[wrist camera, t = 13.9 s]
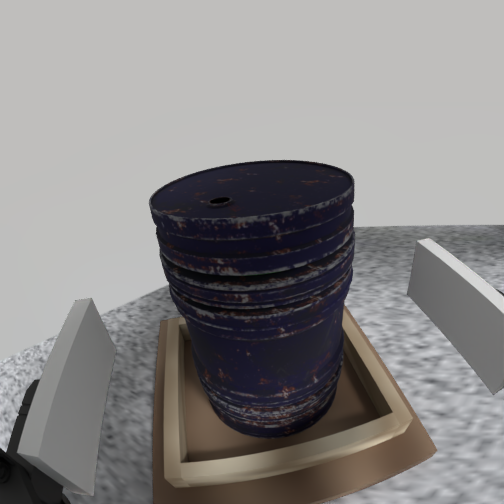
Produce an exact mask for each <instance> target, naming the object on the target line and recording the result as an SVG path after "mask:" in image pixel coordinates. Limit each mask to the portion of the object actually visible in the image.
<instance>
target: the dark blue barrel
mask: <svg viewBox="0 0 504 504" xmlns="http://www.w3.org/2000/svg"><path fill="white" fill-rule="evenodd" d="M353 202H354V179H353V177H352V175H350V174H349V173H348V172H346V171H344V170H342V169H340V168H338V167H335V166H331V165H327V164H323V163H317V162H309V161H296V160H269V161H254V162H245V163H237V164H231V165H225V166H220V167H215V168H211V169H207V170H203V171H199V172H196V173H193V174H190V175H187V176H184V177H181V178H179V179H177V180H174V181H172V182H170V183H168V184H166V185H164V186H163V187H161V188H160V189H158V190H157V191H156V192H155V193H154V194H153V195H152V196H151V198H150V200H149V206H150V210H151V214H152V218H153V221H154V223H155V225H156V226H157V228H156V235H157V239H158V242H159V247H160V259H161V262H162V266H163V269H164V273H165V276H166V278H167V281H168V282H169V288H170V295H171V297H172V300H173V302H174V303H175V304H176V307H177V309H178V311H179V312H180V314H181V315H182V316H183V318H185V321H186V325H187V328H188V331H189V334H190V337H191V340H192V345H191V351H192V356H193V360H194V365H195V368H196V370H197V374H198V377H199V380H200V382H201V385H202V387H203V389H204V392H205V393H206V395H207V396H208V398H209V401H210V404H211V406H212V408H213V410H214V412H215V414H216V415H217V416H218V418H219V419H220V420H221V421H222V422H223V423H224V424H226V425H227V426H228V427H230V428H231V429H233V430H235V431H237V432H239V433H241V434H244V435H247V436H251V437H255V438H263V439H276V438H283V437H288V436H292V435H295V434H298V433H301V432H303V431H305V430H306V429H308V428H310V427H312V426H313V425H314V424H316V423H317V422H319V421H320V420H321V419H322V418H323V417H324V415H325V414H326V413H327V412H328V410H329V409H330V407H331V406H332V403H333V401H334V399H335V395H336V390H337V383H338V380H339V378H340V375H341V369H342V363H343V345H344V330H343V327H342V321H343V311H344V300H345V299H346V296H347V294H348V292H349V287H350V284H351V281H352V276H353V269H352V262H353V258H354V246H355V231H354V227H353V224H354V210H353V207H352V203H353Z"/></svg>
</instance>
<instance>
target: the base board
mask: <svg viewBox="0 0 504 504" xmlns="http://www.w3.org/2000/svg"><path fill="white" fill-rule="evenodd" d="M342 327H343V330H344V345H343V363H342V369H341V375H340V378H339V380H338V383H337V390H336V395H335V399H334V401H333V403H332V406H331V407H330V409H329V410H328V412H327V413H326V414H325V415H324V417H323V418H322V419H321V420H320V421H319V422H317V423H316V424H314V425H313V426H312V427H310V428H308V429H306V430H305V431H303V432H301V433H298V434H295V435H292V436H288V437H283V438H276V439H263V438H255V437H251V436H247V435H244V434H241V433H239V432H237V431H235V430H233V429H231V428H230V427H228V426H227V425H226V424H224V423H223V422H222V421H221V420H220V419H219V418H218V416H217V415H216V414H215V412H214V410H213V408H212V406H211V404H210V401H209V398H208V396H207V395H206V393H205V392H204V389H203V387H202V385H201V382H200V380H199V377H198V374H197V370H196V368H195V365H194V360H193V356H192V351H191V345H192V340H191V337H190V334H189V331H188V328H187V325H186V321H185V318H183V317H178V318H172V319H168V320H162V321H161V322H160V331H159V341H158V352H157V364H156V378H155V394H154V415H153V504H320V503H324V502H327V501H330V500H334V499H337V498H340V497H343V496H346V495H348V494H351V493H354V492H357V491H359V490H362V489H365V488H367V487H370V486H372V485H375V484H377V483H379V482H382V481H384V480H386V479H389V478H391V477H393V476H395V475H397V474H399V473H402V472H404V471H406V470H408V469H410V468H412V467H414V466H416V465H418V464H419V463H421V462H423V461H425V460H427V459H429V458H431V457H432V456H433V455H434V454H435V452H436V451H437V449H436V447H435V445H434V443H433V442H432V440H431V438H430V437H429V435H428V433H427V432H426V430H425V428H424V427H423V425H422V423H421V422H420V420H419V418H418V417H417V415H416V413H415V412H414V410H413V408H412V407H411V405H410V404H409V402H408V400H407V399H406V397H405V396H404V394H403V392H402V391H401V389H400V388H399V386H398V384H397V383H396V381H395V380H394V378H393V377H392V375H391V373H390V372H389V370H388V369H387V367H386V366H385V364H384V363H383V361H382V360H381V358H380V357H379V355H378V353H377V352H376V350H375V349H374V347H373V346H372V344H371V343H370V341H369V340H368V338H367V337H366V335H365V334H364V332H363V331H362V329H361V328H360V326H359V325H358V324H357V322H356V321H355V319H354V318H353V316H352V315H351V313H350V312H349V310H348V309H347V307H346V306H345V305H344V311H343V321H342Z"/></svg>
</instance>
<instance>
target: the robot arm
mask: <svg viewBox="0 0 504 504" xmlns="http://www.w3.org/2000/svg"><path fill="white" fill-rule="evenodd" d="M407 295H408V296H409V297H410V298H411V299H412V300H413V301H414V302H415V303H416V304H417V305H418V306H419V307H420V309H421V310H422V311H423V312H424V313H425V314H426V315H427V316H428V317H429V318H430V320H431V321H432V322H433V323H434V324H435V325H436V326H437V327H438V328H439V330H440V331H441V332H442V333H443V334H444V335H445V336H446V338H447V339H448V340H449V341H450V342H451V343H452V345H453V346H454V347H455V348H456V349H457V350H458V352H459V353H460V354H461V355H462V356H463V358H464V359H465V360H466V361H467V362H468V364H469V365H470V366H471V367H472V369H473V370H474V371H475V372H476V374H477V375H478V376H479V377H480V379H481V380H482V381H483V382H484V384H485V385H486V386H487V388H488V389H489V390H490V392H491V393H492V394H493V395H494V394H496V393H497V392H498V391H500V390H501V389H502V388H504V293H502V292H501V291H499V290H497V289H495V288H493V287H492V286H491V285H490V284H488V283H487V282H486V281H485V280H484V279H482V278H481V277H480V276H479V275H477V274H476V273H475V272H474V271H472V270H471V269H470V268H469V267H467V266H466V265H465V264H464V263H462V262H461V261H460V260H458V259H457V258H456V257H454V256H453V255H452V254H450V253H449V252H448V251H446V250H445V249H444V248H442V247H441V246H440V245H438V244H437V243H435V242H434V241H433V240H431V239H430V238H427V239H423V240H418V241H416V248H415V254H414V260H413V266H412V271H411V277H410V282H409V287H408V291H407ZM116 352H117V350H116V348H115V346H114V344H113V342H112V340H111V338H110V336H109V334H108V332H107V330H106V328H105V326H104V324H103V322H102V320H101V317H100V315H99V313H98V311H97V309H96V306H95V304H94V302H93V300H92V298H88V299H81V300H75V302H74V304H73V306H72V308H71V310H70V312H69V314H68V316H67V319H66V320H65V323H64V325H63V327H62V329H61V331H60V333H59V336H58V338H57V340H56V342H55V345H54V347H53V349H52V352H51V354H50V356H49V359H48V361H47V364H46V366H45V368H44V371H43V374H42V376H41V379H40V380H34V382H33V383H32V384H31V385H30V387H29V388H28V389H27V391H26V393H25V396H24V399H23V401H22V406H21V407H20V410H19V413H18V414H19V416H17V419H16V422H15V425H14V428H13V431H12V435H11V438H10V441H9V445H8V448H7V451H6V453H5V452H4V451H3V450H2V449H1V448H0V504H71V503H70V502H69V500H68V499H67V497H66V496H65V495H64V494H63V493H62V491H63V487H65V488H66V489H68V490H69V491H71V492H73V493H76V494H82V495H88V496H94V487H95V476H96V466H97V458H98V450H99V442H100V435H101V428H102V422H103V416H104V410H105V405H106V399H107V394H108V389H109V384H110V379H111V374H112V369H113V365H114V360H115V356H116Z"/></svg>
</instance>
